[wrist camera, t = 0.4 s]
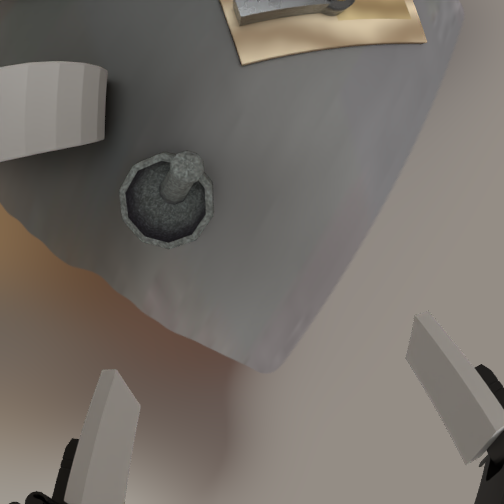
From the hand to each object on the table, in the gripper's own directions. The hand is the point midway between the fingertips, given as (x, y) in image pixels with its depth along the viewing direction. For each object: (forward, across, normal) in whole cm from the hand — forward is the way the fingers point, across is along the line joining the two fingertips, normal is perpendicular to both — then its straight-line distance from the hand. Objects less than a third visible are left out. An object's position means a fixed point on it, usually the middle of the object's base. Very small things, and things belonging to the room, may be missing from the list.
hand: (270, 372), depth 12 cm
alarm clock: (+27, -22, +17) cm, 38 cm away
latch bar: (+25, +10, +22) cm, 35 cm away
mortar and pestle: (+27, -7, +3) cm, 28 cm away
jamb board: (+27, +14, +25) cm, 39 cm away
